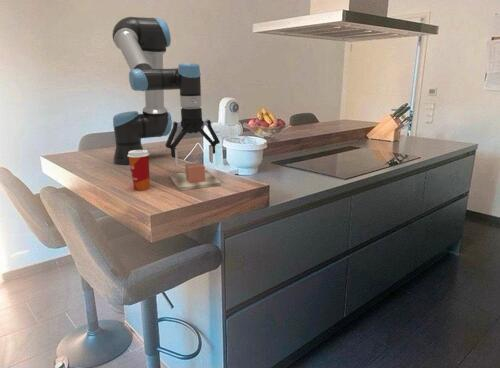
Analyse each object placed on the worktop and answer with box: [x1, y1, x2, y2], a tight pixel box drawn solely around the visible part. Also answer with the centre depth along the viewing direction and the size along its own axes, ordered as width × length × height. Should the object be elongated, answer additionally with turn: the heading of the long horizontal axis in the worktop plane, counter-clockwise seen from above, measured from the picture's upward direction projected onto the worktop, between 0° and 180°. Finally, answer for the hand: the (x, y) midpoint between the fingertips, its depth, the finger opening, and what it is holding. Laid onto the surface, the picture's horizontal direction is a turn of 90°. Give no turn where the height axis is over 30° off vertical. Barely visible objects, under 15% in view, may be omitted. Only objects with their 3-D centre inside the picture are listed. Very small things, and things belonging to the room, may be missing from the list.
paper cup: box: [128, 149, 151, 191], centre depth 137 cm, size 8×8×14 cm
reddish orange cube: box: [184, 162, 206, 183], centre depth 143 cm, size 6×6×6 cm
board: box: [168, 169, 222, 192], centre depth 146 cm, size 16×20×6 cm
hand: (194, 163), depth 143 cm, fingers open, 13 cm apart
